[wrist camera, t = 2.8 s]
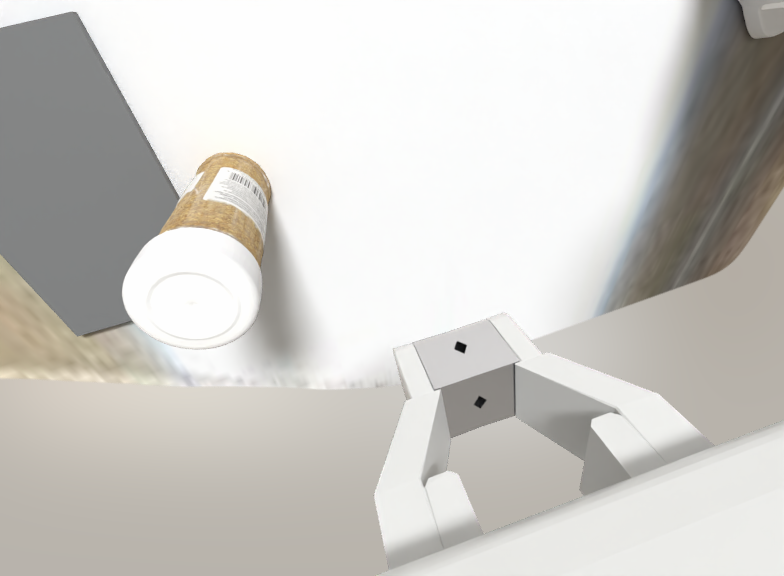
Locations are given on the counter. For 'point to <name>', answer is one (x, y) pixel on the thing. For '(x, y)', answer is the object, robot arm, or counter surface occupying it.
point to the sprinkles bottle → (204, 259)
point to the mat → (73, 173)
